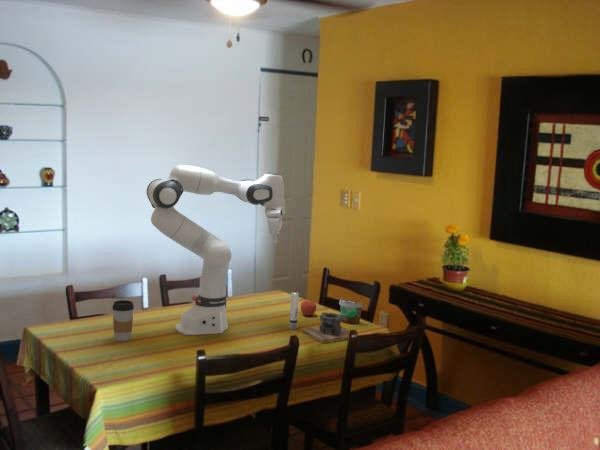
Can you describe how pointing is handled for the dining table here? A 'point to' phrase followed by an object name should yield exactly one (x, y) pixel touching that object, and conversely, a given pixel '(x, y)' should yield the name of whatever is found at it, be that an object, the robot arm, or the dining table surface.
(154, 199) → the robot arm
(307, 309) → the apple
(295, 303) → the air tube
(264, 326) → the dining table surface
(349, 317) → the food container
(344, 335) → the collar stand
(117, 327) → the coffee cup
